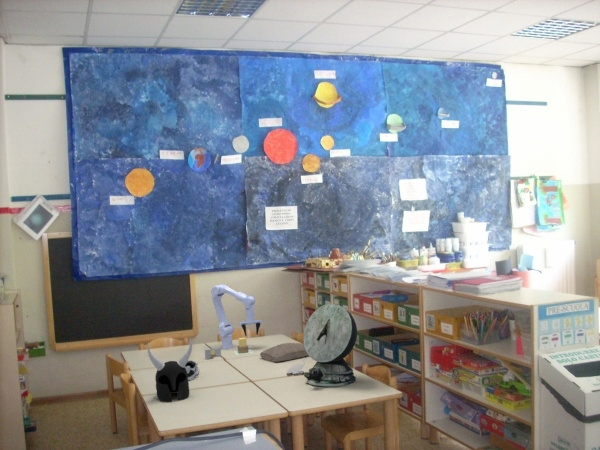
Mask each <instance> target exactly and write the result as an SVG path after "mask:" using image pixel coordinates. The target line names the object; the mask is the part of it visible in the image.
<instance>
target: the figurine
mask: <svg viewBox="0 0 600 450" xmlns="http://www.w3.org/2000/svg"><path fill="white" fill-rule="evenodd" d="M301 360H302V362H298V363H295V364H293V365H292V366H290V367H289V368H288V369H287V370H286V376H287V377H292V375H294V376H299V375H298V374H303V375H304V373H305V371H303V370H302V369H304V367H305V366H306V365H305V364H306V363H305V361H306V360H307V361H309V362H310V363H312V362H311V360H310V359H309V358H306V357H302V358H301Z"/></svg>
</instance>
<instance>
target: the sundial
mask: <svg viewBox="0 0 600 450" xmlns="http://www.w3.org/2000/svg"><path fill="white" fill-rule="evenodd" d="M354 318H355V317H354V316H353V315H352V313H350V311H349V310H348V309H346V308H345V307H344V306H342V305H341V304H335V303H326V304H323V305H321V306H320V307H318V308H317V309H315V311H314V312H313V313H312V314H311V315H310V316H309V318H308V320H307V321H306V323H305V327H304V331H303V343H304V346H305V350H306V352H307V354H308V355H309V356H308V357H310V358H311V359H312V360H313V361H315V362H316V363H315V364H314V365H313V367H311V368H309V369H308V371H306V372H305V371H304V374H303V377H304V378H305V379H307V380H306V381H307V383H308V385H311V386H316V387H318V386H319V387H340V386H347V385H350V384H353V383H355V382H356V381H357V378H356V376H355V373H354V369H353V368H352V367H350V365H349V364H348V362H347V361H346V359H345V358H346V357H347V356H349V354H350V353H351V352H352V351H353V350H354V348H355V345H356V343H357V341H358V340H357V339H358V328H357V323H356V320H355V319H354Z"/></svg>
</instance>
